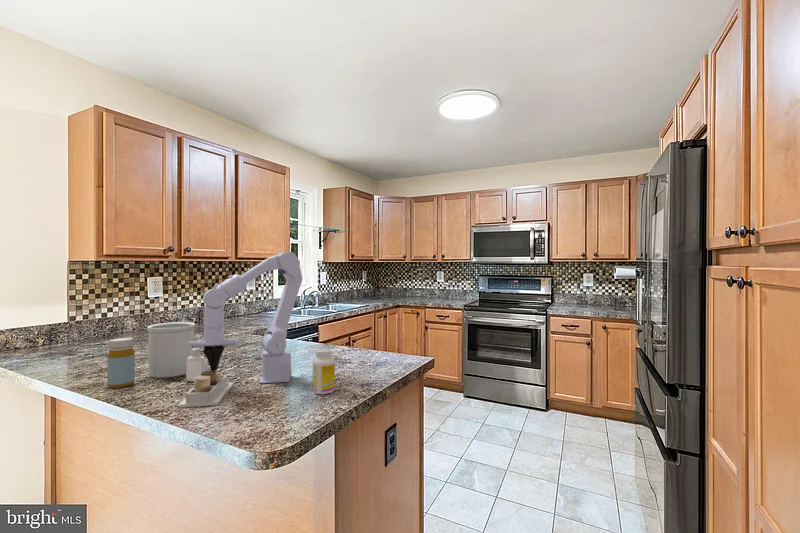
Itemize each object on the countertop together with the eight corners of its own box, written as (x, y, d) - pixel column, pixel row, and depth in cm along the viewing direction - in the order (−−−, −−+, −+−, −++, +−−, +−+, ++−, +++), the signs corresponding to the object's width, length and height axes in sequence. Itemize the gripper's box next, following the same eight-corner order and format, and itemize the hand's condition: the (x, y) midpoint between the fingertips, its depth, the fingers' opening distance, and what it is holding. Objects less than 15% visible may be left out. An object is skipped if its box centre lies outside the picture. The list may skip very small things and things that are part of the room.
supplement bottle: (338, 389, 113) (338, 348, 114) (327, 396, 107) (327, 353, 107) (320, 387, 116) (320, 347, 116) (308, 394, 109) (308, 351, 109)
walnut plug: (217, 383, 111) (217, 370, 111) (213, 387, 107) (213, 373, 107) (203, 384, 110) (203, 370, 110) (198, 388, 106) (198, 374, 106)
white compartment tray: (233, 384, 118) (233, 374, 118) (217, 404, 101) (217, 392, 101) (200, 386, 116) (200, 375, 116) (178, 407, 99) (178, 394, 99)
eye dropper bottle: (194, 383, 120) (194, 347, 120) (184, 380, 123) (184, 345, 123) (207, 379, 124) (207, 344, 124) (196, 377, 127) (196, 343, 127)
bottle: (139, 383, 120) (139, 338, 120) (115, 390, 113) (115, 342, 113) (126, 380, 123) (126, 336, 123) (102, 387, 116) (103, 340, 116)
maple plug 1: (212, 389, 105) (212, 375, 106) (207, 393, 102) (207, 379, 102) (197, 389, 105) (197, 376, 105) (192, 394, 101) (192, 380, 101)
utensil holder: (202, 370, 135) (203, 323, 135) (159, 381, 122) (159, 329, 123) (182, 365, 143) (182, 320, 143) (139, 374, 130) (139, 325, 131)
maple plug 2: (222, 384, 116) (222, 371, 116) (219, 388, 112) (219, 375, 112) (209, 385, 115) (209, 372, 115) (205, 389, 112) (205, 376, 112)
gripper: (241, 324, 119) (241, 365, 119) (193, 325, 117) (193, 367, 116) (236, 327, 113) (236, 371, 112) (185, 329, 110) (185, 374, 110)
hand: (214, 370), depth 114 cm, fingers closed
